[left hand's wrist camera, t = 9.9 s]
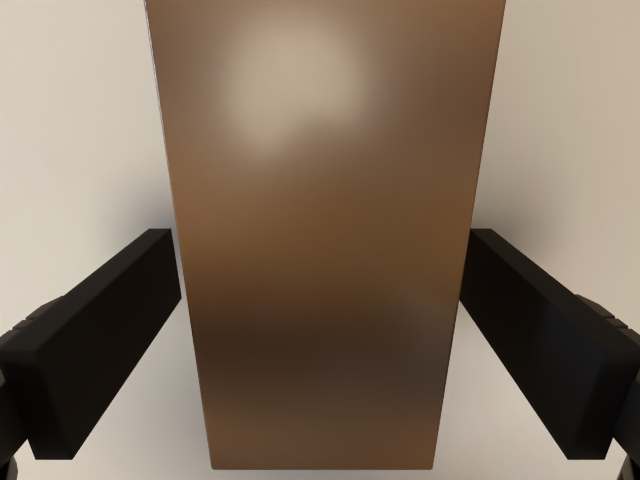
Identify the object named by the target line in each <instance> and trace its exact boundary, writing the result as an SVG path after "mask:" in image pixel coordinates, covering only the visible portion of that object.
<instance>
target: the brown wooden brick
mask: <svg viewBox="0 0 640 480" xmlns="http://www.w3.org/2000/svg"><path fill="white" fill-rule="evenodd" d="M505 3H506V0H144V5H145V12H146V19H147V26H148V32H149V39H150V46H151V53H152V60H153V67H154V74H155V81H156V88H157V95H158V101H159V108H160V115H161V122H162V129H163V136H164V143H165V150H166V157H167V164H168V170H169V177H170V184H171V191H172V198H173V205H174V212H175V219H176V226H177V233H178V239H179V246H180V253H181V260H182V267H183V274H184V281H185V288H186V295H187V302H188V309H189V315H190V322H191V329H192V336H193V343H194V350H195V357H196V364H197V371H198V378H199V384H200V391H201V398H202V405H203V412H204V419H205V426H206V433H207V440H208V447H209V453H210V460H211V467H212V469H213V470H431V469H432V468H433V462H434V455H435V449H436V443H437V436H438V430H439V423H440V417H441V411H442V404H443V398H444V392H445V385H446V379H447V372H448V366H449V360H450V353H451V347H452V341H453V334H454V328H455V321H456V315H457V309H458V302H459V296H460V290H461V283H462V277H463V270H464V264H465V258H466V251H467V245H468V239H469V232H470V226H471V219H472V213H473V207H474V200H475V194H476V188H477V181H478V175H479V169H480V162H481V156H482V149H483V143H484V137H485V130H486V124H487V118H488V111H489V105H490V98H491V92H492V86H493V79H494V73H495V67H496V60H497V54H498V47H499V41H500V35H501V28H502V22H503V16H504V9H505Z"/></svg>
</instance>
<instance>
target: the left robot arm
mask: <svg viewBox="0 0 640 480" xmlns="http://www.w3.org/2000/svg"><path fill="white" fill-rule="evenodd" d="M181 298H182V297H181V290H180V284H179V277H178V271H177V264H176V258H175V251H174V245H173V238H172V232H171V229H148V230H147V231H145V232H144V233H143V234H142V235H140V236H139V237H138V238H137V239H135V240H134V241H133V242H131V243H130V244H129V245H128V246H126V247H125V248H124V249H123V250H121V251H120V252H119V253H118V254H116V255H115V256H114V257H112V258H111V259H110V260H109V261H107V262H106V263H105V264H104V265H102V266H101V267H100V268H98V269H97V270H96V271H95V272H93V273H92V274H91V275H90V276H88V277H87V278H86V279H84V280H83V281H82V282H81V283H79V284H78V285H77V286H76V287H74V288H73V289H72V290H71V291H69V292H68V293H67V294H65V295H64V296H61V297H59V298H57V299H54V300H52V301H50V302H48V303H46V304H44V305H42V306H40V307H39V308H38V309H37V310H35V311H34V312H33V313H31V314H30V315H29V316H27V317H26V320H22V321H21V322H19V323H18V324H17V325H15V326H14V327H13V329H12V330H9V331H8V332H6V333H5V334H4V335H2V336H1V337H0V480H17V474H18V469H17V463H16V461H15V458H14V456H13V455H14V454H15V453H16V452H17V450H18V449H19V448H20V447H21V446H22V444H23V443H24V442H25V441H26V440H27V439H28V441H29V444H30V447H31V449H32V452H33V454H34V457H35V460H72V459H73V458H74V456H75V455H76V453H77V452H78V450H79V449H80V447H81V446H82V444H83V443H84V442H85V440H86V439H87V437H88V436H89V434H90V433H91V431H92V430H93V428H94V427H95V425H96V424H97V422H98V421H99V419H100V418H101V416H102V415H103V413H104V412H105V411H106V409H107V408H108V406H109V405H110V403H111V402H112V400H113V399H114V397H115V396H116V394H117V393H118V391H119V390H120V388H121V387H122V385H123V384H124V383H125V381H126V380H127V378H128V377H129V375H130V374H131V372H132V371H133V369H134V368H135V366H136V365H137V363H138V362H139V360H140V359H141V357H142V356H143V354H144V353H145V352H146V350H147V349H148V347H149V346H150V344H151V343H152V341H153V340H154V338H155V337H156V335H157V334H158V332H159V331H160V329H161V328H162V326H163V325H164V323H165V322H166V321H167V319H168V318H169V316H170V315H171V313H172V312H173V310H174V309H175V307H176V306H177V304H178V303H179V301H180V300H181ZM459 300H460V301H461V303H462V304H463V306H464V307H465V309H466V310H467V312H468V313H469V315H470V316H471V318H472V319H473V321H474V322H475V323H476V325H477V326H478V328H479V329H480V331H481V332H482V334H483V335H484V337H485V338H486V340H487V341H488V343H489V344H490V346H491V347H492V349H493V350H494V352H495V353H496V354H497V356H498V357H499V359H500V360H501V362H502V363H503V365H504V366H505V368H506V369H507V371H508V372H509V374H510V375H511V377H512V378H513V380H514V381H515V382H516V384H517V385H518V387H519V388H520V390H521V391H522V393H523V394H524V396H525V397H526V399H527V400H528V402H529V403H530V405H531V406H532V408H533V409H534V411H535V412H536V413H537V415H538V416H539V418H540V419H541V421H542V422H543V424H544V425H545V427H546V428H547V430H548V431H549V433H550V434H551V436H552V437H553V439H554V440H555V442H556V443H557V444H558V446H559V447H560V449H561V450H562V452H563V453H564V455H565V456H566V458H567V459H568V460H605V457H606V454H607V452H608V449H609V447H610V444H611V441H612V439H613V438H614V439H615V440H616V441H617V442H618V443H619V445H620V446H621V447H622V448H623V449H624V450H625V452H626V453H627V456H626V458H625V461H624V463H623V465H622V468H621V470H620V473H619V475H618V477H617V480H640V335H639V334H638V333H636V332H635V331H634V330H632V329H628V326H627V325H626V324H624V323H623V322H622V321H620V320H619V319H615V316H614V315H612V314H611V313H610V312H608V311H607V310H606V309H604V308H603V307H602V306H601V305H599V304H597V303H595V302H593V301H591V300H589V299H587V298H585V297H582V296H580V295H578V294H573V293H572V292H571V291H569V290H568V289H567V288H566V287H564V286H563V285H562V284H561V283H559V282H558V281H557V280H556V279H554V278H553V277H552V276H550V275H549V274H548V273H547V272H545V271H544V270H543V269H542V268H540V267H539V266H538V265H536V264H535V263H534V262H533V261H531V260H530V259H529V258H528V257H526V256H525V255H524V254H522V253H521V252H520V251H519V250H517V249H516V248H515V247H514V246H512V245H511V244H510V243H509V242H507V241H506V240H505V239H503V238H502V237H501V236H500V235H498V234H497V233H496V232H495V231H493V230H492V229H470V232H469V239H468V245H467V251H466V258H465V264H464V270H463V277H462V283H461V290H460V296H459Z"/></svg>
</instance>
